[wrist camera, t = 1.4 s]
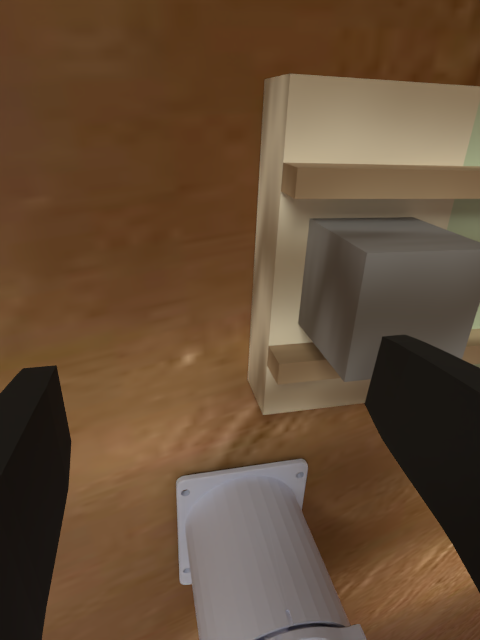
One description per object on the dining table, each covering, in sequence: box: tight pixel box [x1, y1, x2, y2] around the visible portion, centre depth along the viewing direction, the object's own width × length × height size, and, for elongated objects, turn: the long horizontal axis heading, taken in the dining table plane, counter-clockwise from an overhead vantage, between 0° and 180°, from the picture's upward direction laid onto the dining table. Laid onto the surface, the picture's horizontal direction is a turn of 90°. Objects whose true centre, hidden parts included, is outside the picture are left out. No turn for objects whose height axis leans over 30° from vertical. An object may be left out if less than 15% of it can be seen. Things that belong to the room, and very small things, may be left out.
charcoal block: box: [298, 217, 480, 382], centre depth 16 cm, size 4×4×4 cm
